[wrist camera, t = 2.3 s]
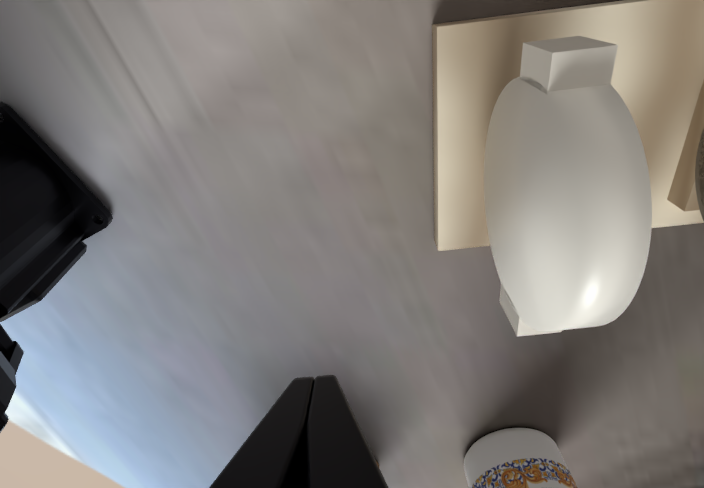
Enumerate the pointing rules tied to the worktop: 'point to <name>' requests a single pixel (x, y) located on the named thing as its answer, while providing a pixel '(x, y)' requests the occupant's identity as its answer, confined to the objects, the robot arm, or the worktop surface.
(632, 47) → the birch board
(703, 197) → the cylinder
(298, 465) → the robot arm
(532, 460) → the bath foam
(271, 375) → the worktop surface
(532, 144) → the white oval slab
